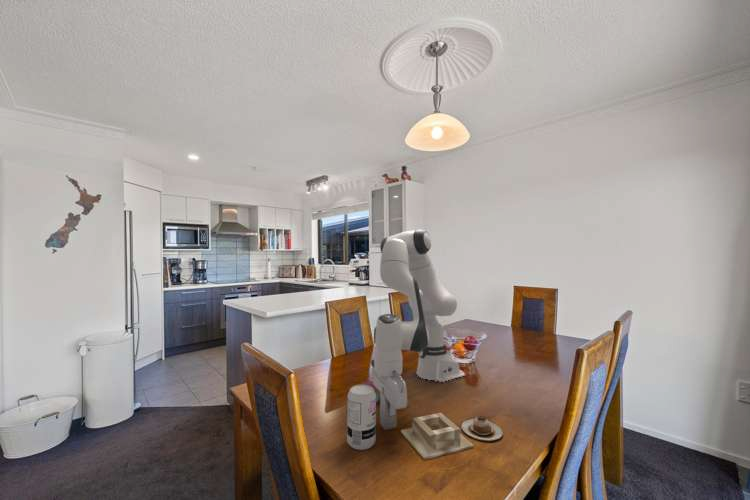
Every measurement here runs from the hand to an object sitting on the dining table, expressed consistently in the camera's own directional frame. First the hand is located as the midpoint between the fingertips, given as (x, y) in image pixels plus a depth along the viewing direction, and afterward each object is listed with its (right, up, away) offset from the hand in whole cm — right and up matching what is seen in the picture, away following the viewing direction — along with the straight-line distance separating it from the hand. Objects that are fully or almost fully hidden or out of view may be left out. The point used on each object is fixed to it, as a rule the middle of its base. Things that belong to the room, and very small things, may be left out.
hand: (388, 410), depth 97 cm
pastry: (+29, -5, -3) cm, 29 cm away
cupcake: (-5, -6, +17) cm, 19 cm away
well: (+14, -4, -8) cm, 16 cm away
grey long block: (0, -5, 0) cm, 5 cm away
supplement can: (-8, -4, -10) cm, 13 cm away
